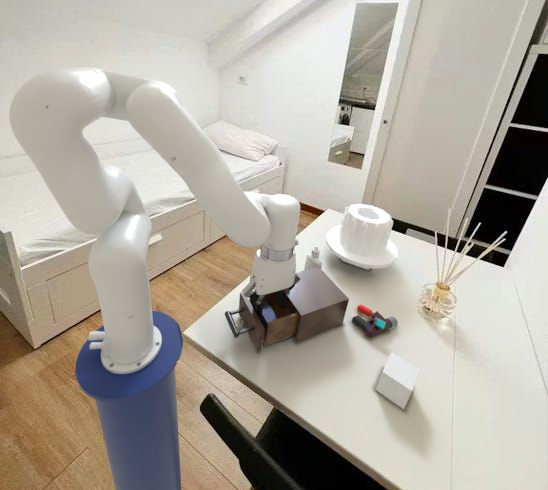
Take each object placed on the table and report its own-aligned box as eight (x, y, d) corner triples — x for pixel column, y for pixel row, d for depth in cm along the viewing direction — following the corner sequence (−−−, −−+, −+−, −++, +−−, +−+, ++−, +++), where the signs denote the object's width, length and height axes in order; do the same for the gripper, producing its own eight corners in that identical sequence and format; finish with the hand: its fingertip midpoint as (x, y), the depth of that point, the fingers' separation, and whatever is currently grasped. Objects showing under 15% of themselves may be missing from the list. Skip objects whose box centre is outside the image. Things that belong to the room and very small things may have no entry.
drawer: (237, 360, 65) (239, 337, 62) (220, 319, 75) (221, 297, 72) (306, 334, 73) (310, 312, 71) (282, 299, 83) (285, 279, 80)
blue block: (280, 333, 72) (281, 324, 70) (269, 337, 70) (270, 328, 69) (265, 308, 78) (266, 299, 77) (255, 311, 77) (256, 303, 76)
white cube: (384, 369, 68) (391, 352, 65) (411, 387, 64) (419, 369, 62) (375, 389, 63) (382, 371, 61) (403, 409, 60) (412, 391, 58)
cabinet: (296, 342, 72) (301, 315, 68) (271, 303, 83) (275, 278, 79) (342, 324, 78) (349, 298, 75) (314, 290, 89) (318, 266, 86)
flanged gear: (395, 252, 113) (409, 209, 106) (389, 292, 92) (406, 242, 84) (333, 232, 122) (341, 191, 115) (314, 264, 101) (323, 217, 93)
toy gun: (400, 327, 79) (405, 314, 78) (368, 342, 74) (372, 329, 72) (374, 302, 87) (378, 290, 85) (343, 314, 82) (347, 301, 80)
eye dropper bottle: (305, 282, 92) (311, 251, 87) (303, 271, 97) (308, 241, 92) (319, 283, 93) (325, 252, 88) (315, 271, 98) (321, 241, 93)
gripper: (300, 233, 72) (291, 289, 80) (235, 245, 65) (231, 307, 72) (317, 250, 66) (306, 309, 74) (248, 266, 59) (242, 331, 66)
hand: (269, 307), depth 73 cm, fingers open, 5 cm apart
